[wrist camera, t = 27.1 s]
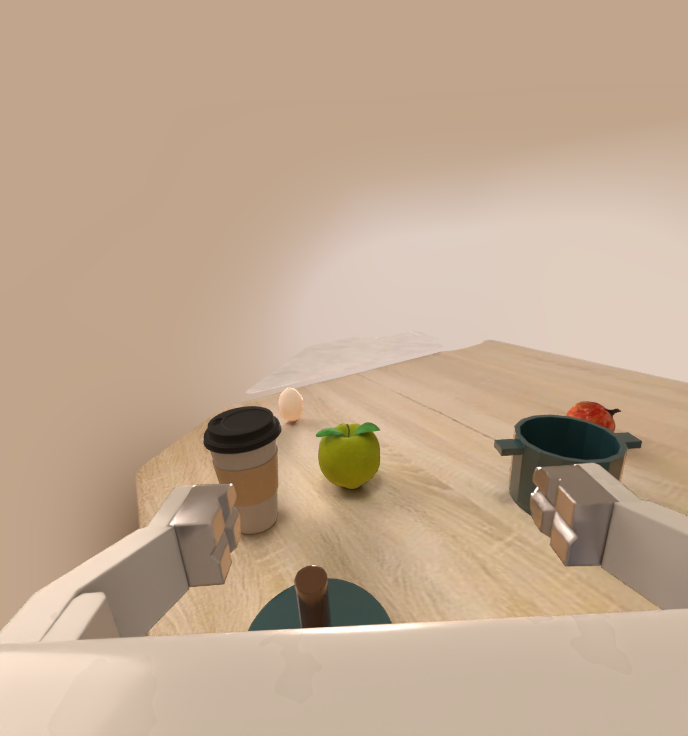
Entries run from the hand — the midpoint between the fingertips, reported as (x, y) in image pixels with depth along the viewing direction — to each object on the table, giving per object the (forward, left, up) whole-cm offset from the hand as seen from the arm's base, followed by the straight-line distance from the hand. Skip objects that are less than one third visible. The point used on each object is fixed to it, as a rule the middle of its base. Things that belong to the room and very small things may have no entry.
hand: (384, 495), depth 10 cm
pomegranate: (-27, -56, -28) cm, 68 cm away
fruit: (+11, -38, -28) cm, 49 cm away
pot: (-18, -39, -28) cm, 51 cm away
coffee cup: (+22, -28, -28) cm, 45 cm away
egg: (+28, -57, -28) cm, 69 cm away
